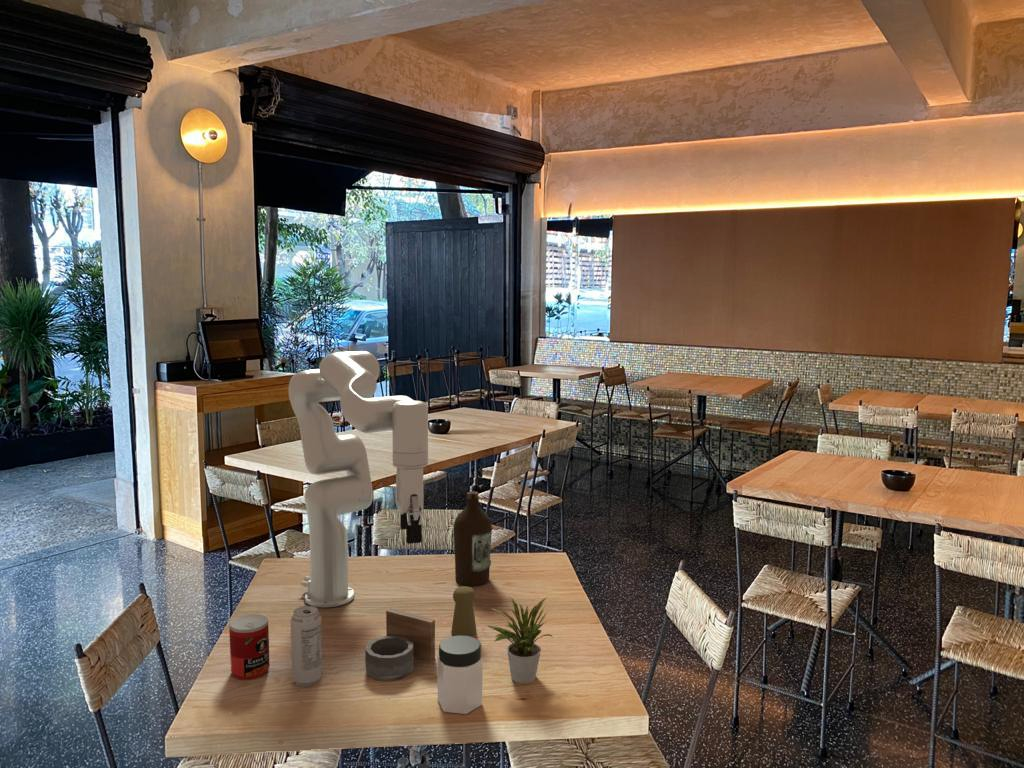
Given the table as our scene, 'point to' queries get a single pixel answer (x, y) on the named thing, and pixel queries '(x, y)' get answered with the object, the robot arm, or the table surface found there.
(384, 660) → the cup bracket
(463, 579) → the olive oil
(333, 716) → the table surface
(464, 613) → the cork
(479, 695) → the jar
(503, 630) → the house plant
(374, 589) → the table surface
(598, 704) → the table surface
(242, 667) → the canned food
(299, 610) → the energy drink can
